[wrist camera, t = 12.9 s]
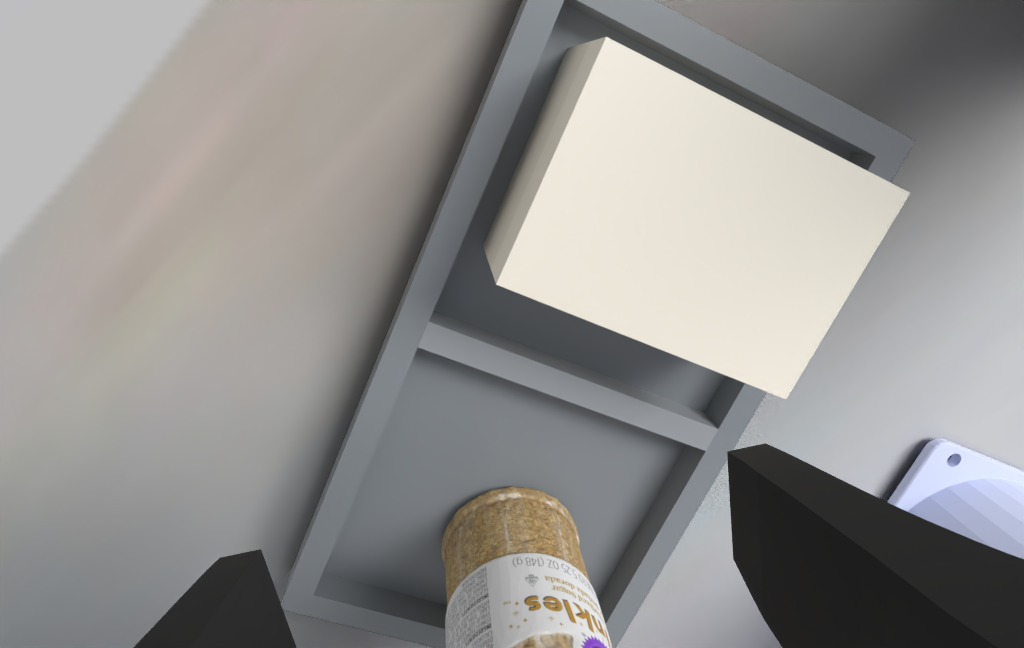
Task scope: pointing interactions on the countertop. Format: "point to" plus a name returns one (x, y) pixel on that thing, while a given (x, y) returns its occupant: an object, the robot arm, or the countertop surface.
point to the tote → (540, 362)
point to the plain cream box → (685, 219)
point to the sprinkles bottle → (518, 576)
